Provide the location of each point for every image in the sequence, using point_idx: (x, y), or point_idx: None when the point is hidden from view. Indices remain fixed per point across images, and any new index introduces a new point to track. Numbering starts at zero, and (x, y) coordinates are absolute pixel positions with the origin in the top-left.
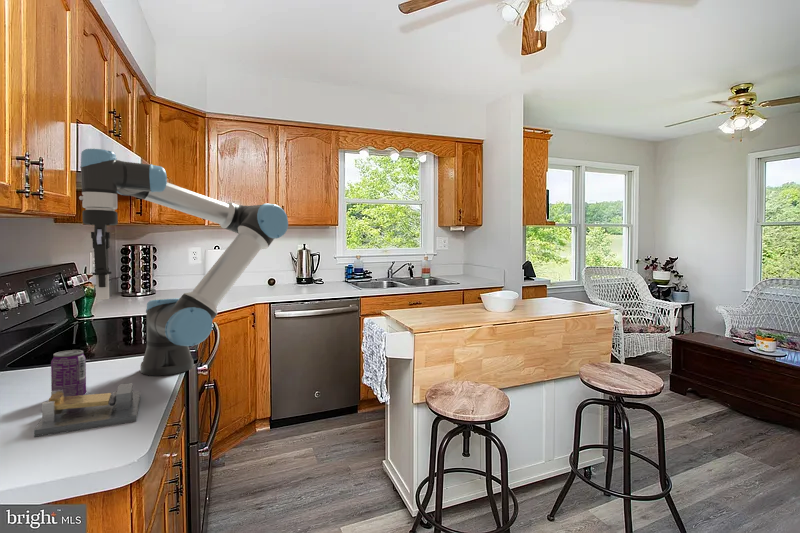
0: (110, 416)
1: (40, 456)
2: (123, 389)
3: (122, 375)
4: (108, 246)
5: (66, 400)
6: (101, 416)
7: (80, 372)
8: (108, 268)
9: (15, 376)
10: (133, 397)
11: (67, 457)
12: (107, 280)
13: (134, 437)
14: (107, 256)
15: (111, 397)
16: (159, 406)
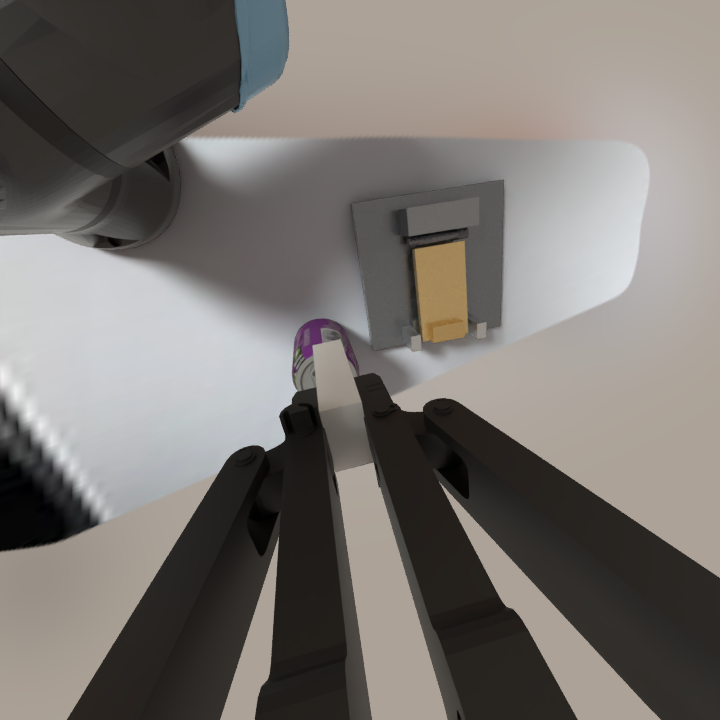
0: (491, 227)
1: (565, 288)
2: (449, 217)
3: (162, 287)
4: (531, 641)
5: (444, 315)
6: (484, 243)
7: (339, 336)
8: (253, 458)
9: (149, 490)
10: (396, 208)
11: (586, 252)
12: (355, 386)
13: (566, 169)
14: (317, 543)
15: (441, 241)
16: (430, 146)
